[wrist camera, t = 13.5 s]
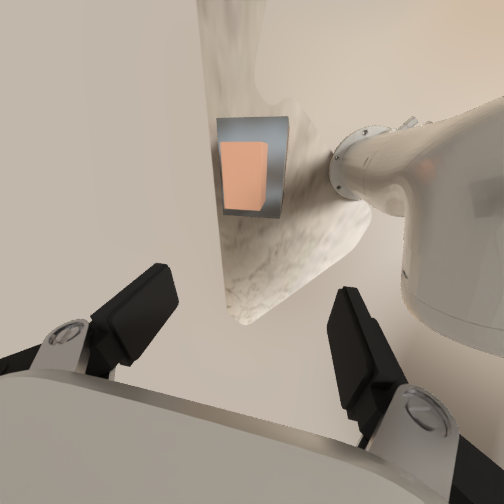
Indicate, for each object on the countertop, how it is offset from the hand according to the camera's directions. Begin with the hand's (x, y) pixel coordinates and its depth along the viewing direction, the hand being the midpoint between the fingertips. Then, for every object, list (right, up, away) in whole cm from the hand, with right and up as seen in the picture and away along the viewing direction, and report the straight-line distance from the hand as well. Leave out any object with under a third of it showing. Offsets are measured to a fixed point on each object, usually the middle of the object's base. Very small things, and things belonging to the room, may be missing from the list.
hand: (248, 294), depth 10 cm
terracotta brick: (0, +15, +18) cm, 23 cm away
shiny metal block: (+2, +20, +28) cm, 35 cm away
